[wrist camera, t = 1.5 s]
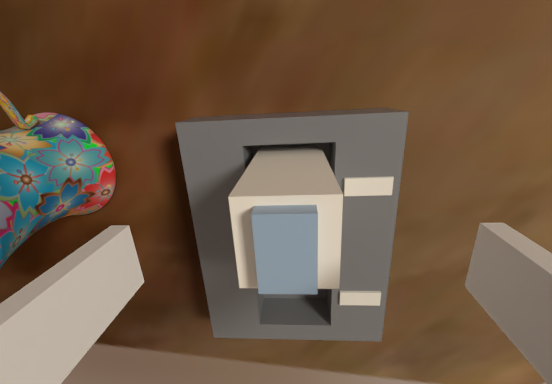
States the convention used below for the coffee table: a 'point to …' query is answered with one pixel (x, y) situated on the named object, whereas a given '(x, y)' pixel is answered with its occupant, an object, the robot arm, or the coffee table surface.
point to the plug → (287, 222)
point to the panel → (355, 218)
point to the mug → (48, 174)
